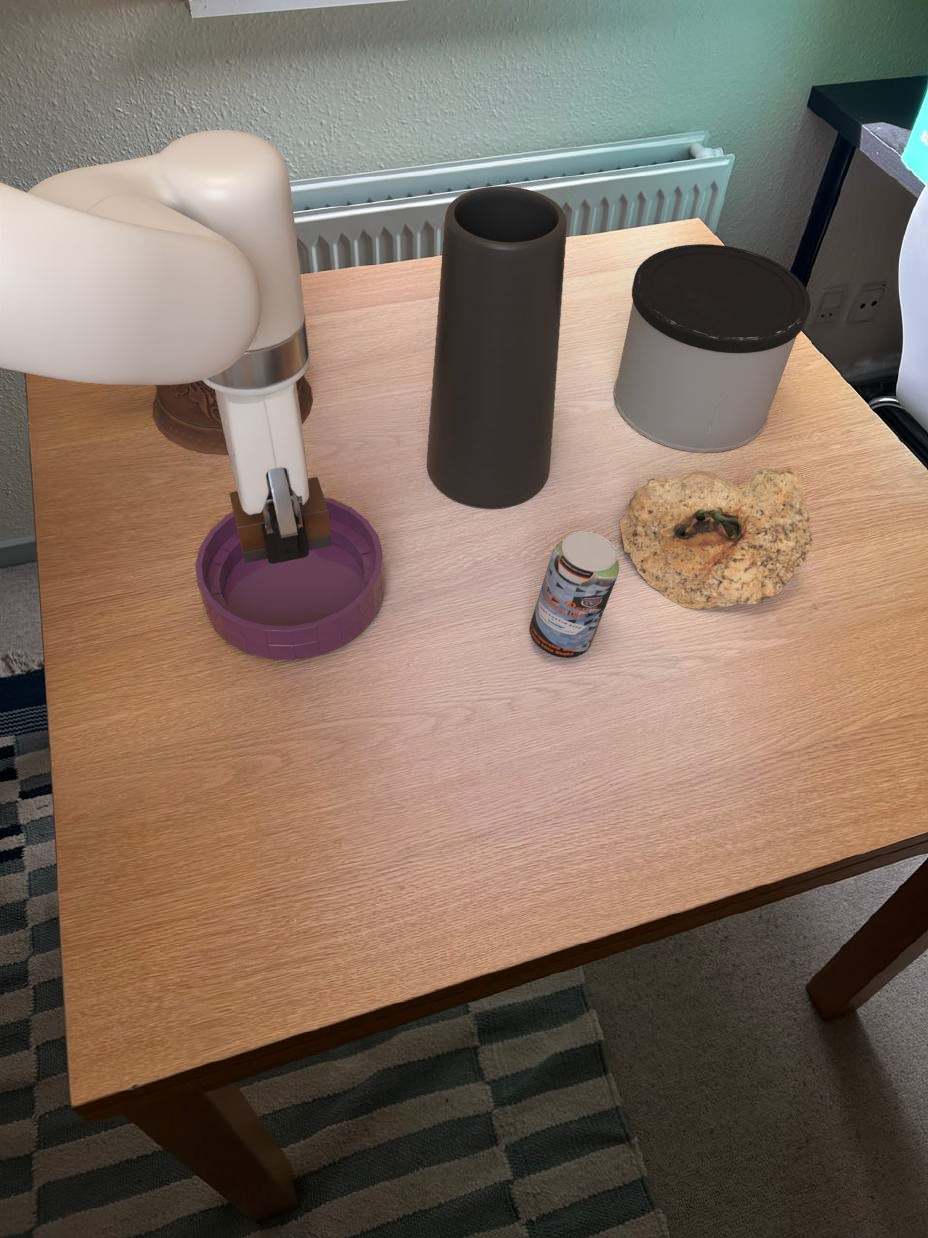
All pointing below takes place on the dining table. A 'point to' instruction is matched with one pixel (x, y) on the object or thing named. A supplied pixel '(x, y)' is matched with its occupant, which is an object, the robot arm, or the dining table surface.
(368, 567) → the bowl
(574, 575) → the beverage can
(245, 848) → the dining table surface
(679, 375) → the container
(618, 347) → the dining table surface
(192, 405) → the cup holder
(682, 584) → the beige rock
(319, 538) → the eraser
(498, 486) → the vase
